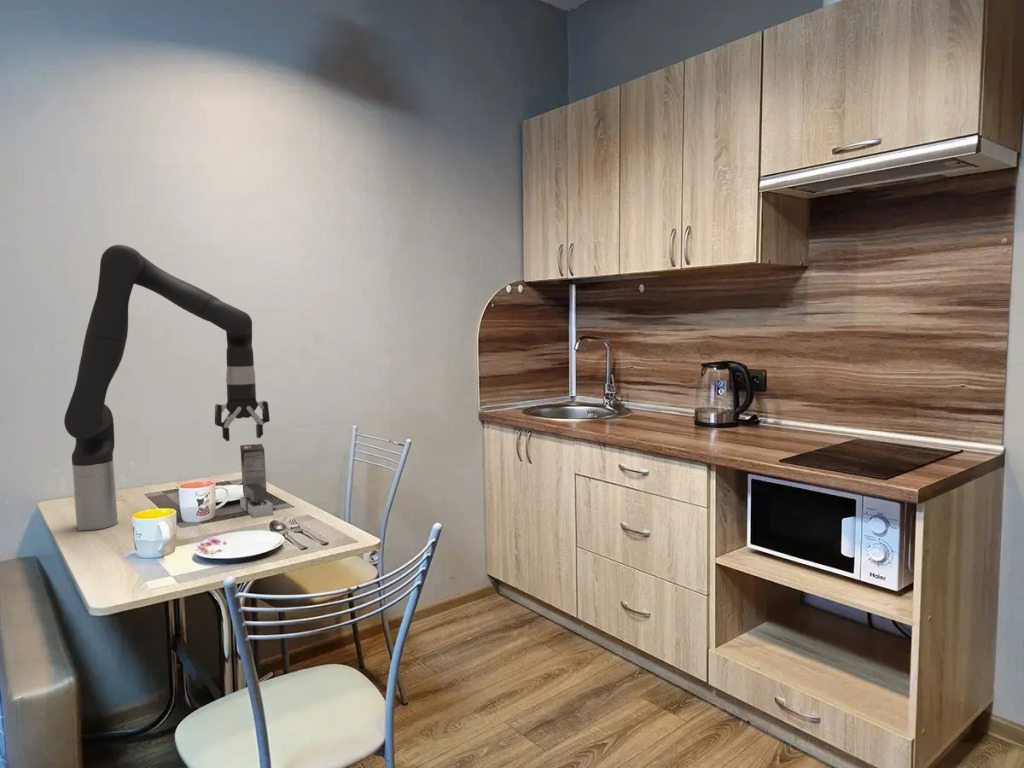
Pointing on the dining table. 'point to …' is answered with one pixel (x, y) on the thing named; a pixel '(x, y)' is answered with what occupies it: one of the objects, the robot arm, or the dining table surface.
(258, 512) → the grey stone base block
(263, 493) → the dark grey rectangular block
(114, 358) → the robot arm
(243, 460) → the coffee box
